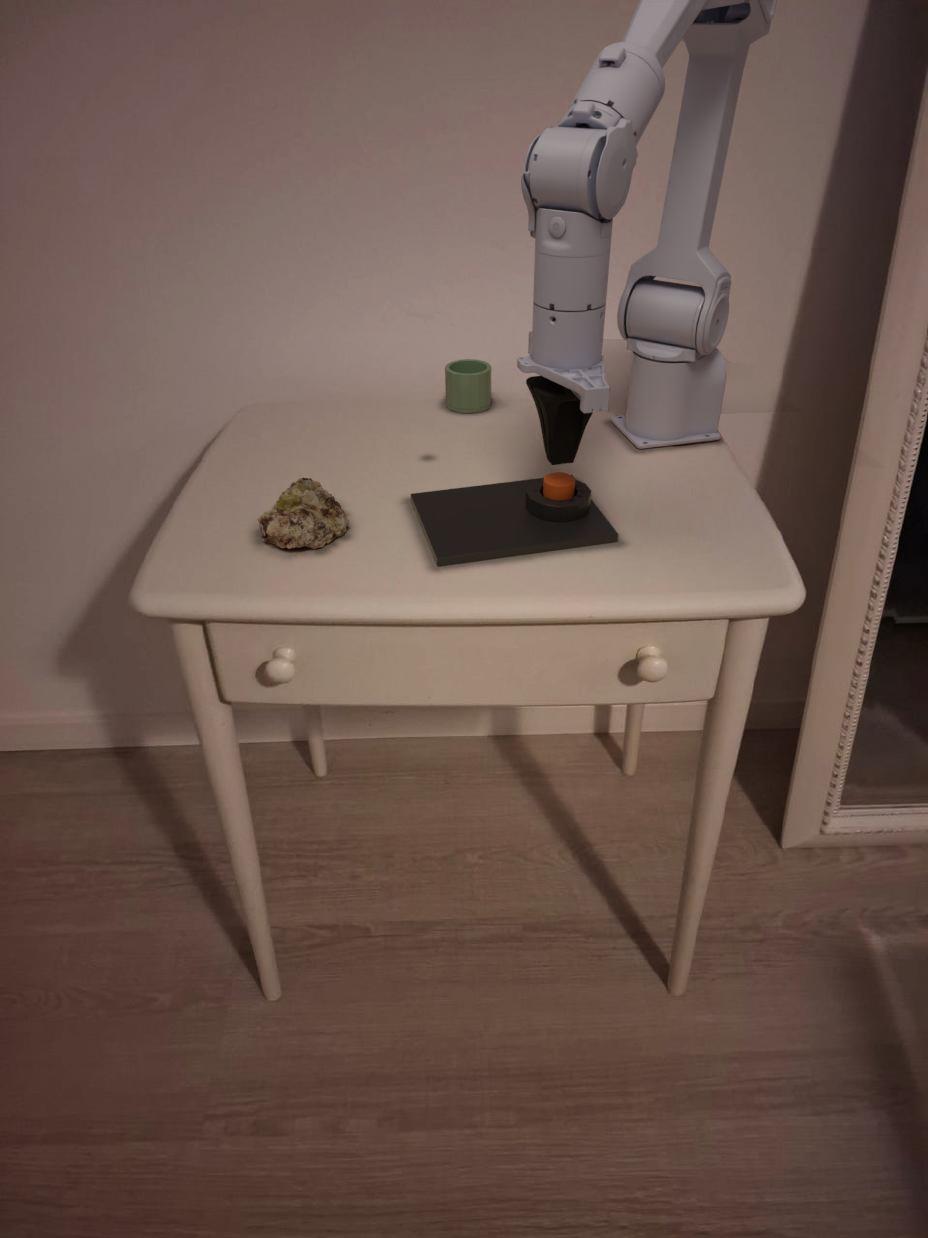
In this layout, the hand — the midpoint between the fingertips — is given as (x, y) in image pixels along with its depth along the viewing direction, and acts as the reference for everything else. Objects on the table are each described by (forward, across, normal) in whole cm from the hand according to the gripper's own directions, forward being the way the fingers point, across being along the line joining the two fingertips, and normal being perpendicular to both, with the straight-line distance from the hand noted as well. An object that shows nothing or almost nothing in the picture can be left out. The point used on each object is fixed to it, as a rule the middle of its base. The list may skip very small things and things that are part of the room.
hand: (560, 460), depth 76 cm
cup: (+5, -28, -2) cm, 29 cm away
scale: (+6, 0, -4) cm, 7 cm away
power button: (+3, 0, 0) cm, 3 cm away
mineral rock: (+6, -4, -22) cm, 24 cm away
